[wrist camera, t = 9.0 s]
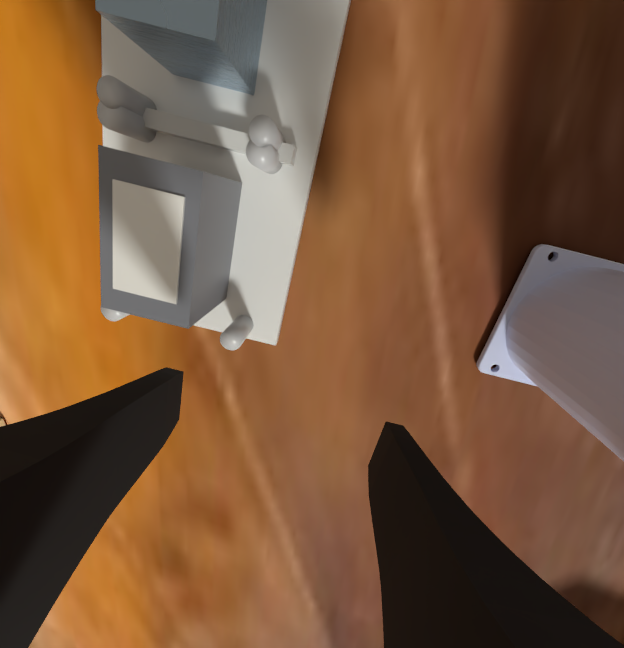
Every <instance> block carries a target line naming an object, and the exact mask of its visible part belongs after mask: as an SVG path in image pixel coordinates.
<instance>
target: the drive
mask: <svg viewBox="0 0 624 648" xmlns="http://www.w3.org/2000/svg"><path fill="white" fill-rule="evenodd" d="M95 4H96V11H97V12H98V13H100V14H101V15H102V16H103V17H104V18H106V19H107V20H108V21H109V22H110V23H112V24H113V25H114V26H115V27H116V28H118V29H119V30H120V31H121V32H122V33H124V34H125V35H126V36H127V37H128V38H130V39H131V40H132V41H133V42H134V43H136V44H137V45H138V46H139V47H140V48H142V49H143V50H144V51H145V52H146V53H148V54H149V55H150V56H151V57H152V58H154V59H155V60H156V61H157V62H158V63H160V64H161V65H162V66H163V67H164V68H166V69H167V70H168V71H169V72H170V73H172V74H173V75H177V76H181V77H184V78H188V79H192V80H196V81H200V82H204V83H208V84H212V85H216V86H219V87H223V88H227V89H231V90H235V91H239V92H243V93H247V94H251V95H254V93H255V86H256V79H257V71H258V64H259V57H260V50H261V42H262V35H263V28H264V21H265V14H266V6H267V0H95Z"/></svg>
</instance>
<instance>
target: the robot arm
mask: <svg viewBox="0 0 624 648" xmlns="http://www.w3.org/2000/svg"><path fill="white" fill-rule="evenodd" d="M551 252H553V254H554V255H553V257H552V259H550V260H548V255H549V254H550V253H551ZM476 365H477V368H478V369H479V370H480V371H481V372H483V373H486V374H490V375H494V376H498V377H502V378H506V379H510V380H514V381H518V382H522V383H526V384H530V385H534V386H538V387H539V388H540V389H541V390H543V391H544V392H545V393H546V394H547V395H548V396H549V397H551V398H552V399H553V400H554V401H555V402H556V403H558V404H559V405H560V406H561V407H562V408H563V409H564V410H566V411H567V412H568V413H569V414H570V415H571V416H572V417H574V418H575V419H576V420H577V421H578V422H579V423H580V424H582V425H583V426H584V427H585V428H586V429H587V430H588V431H590V432H591V433H592V434H593V435H594V436H595V437H596V438H598V439H599V440H600V441H601V442H602V443H603V444H605V445H606V446H607V447H608V448H609V449H610V450H611V451H613V452H614V453H615V454H616V455H617V456H618V457H619V458H621V459H622V460H623V461H624V264H621V263H617V262H614V261H610V260H606V259H602V258H598V257H594V256H590V255H586V254H582V253H578V252H574V251H570V250H566V249H562V248H558V247H554V246H551V245H546V244H540V245H537V246H536V247H534V248H533V249H532V251H531V253H530V255H529V257H528V259H527V261H526V263H525V265H524V267H523V269H522V271H521V273H520V275H519V277H518V279H517V281H516V283H515V285H514V287H513V289H512V292H511V294H510V296H509V298H508V300H507V302H506V304H505V306H504V308H503V310H502V312H501V314H500V316H499V318H498V320H497V322H496V324H495V326H494V328H493V330H492V332H491V334H490V336H489V339H488V341H487V343H486V345H485V347H484V349H483V351H482V353H481V355H480V357H479V359H478V361H477V364H476ZM493 365H496V367H495V368H494V369H491V367H492V366H493ZM182 382H183V371H179V370H175V369H171V368H163V369H161V370H158V371H156V372H153V373H151V374H149V375H146V376H144V377H141V378H139V379H137V380H135V381H132V382H130V383H127V384H125V385H123V386H120V387H118V388H115V389H113V390H111V391H108V392H106V393H103V394H100V395H98V396H95V397H92V398H90V399H87V400H84V401H82V402H79V403H76V404H74V405H71V406H68V407H65V408H62V409H60V410H56V411H53V412H50V413H47V414H44V415H41V416H37V417H34V418H31V419H27V420H24V421H20V422H17V423H13V424H9V425H5V426H1V427H0V648H28V647H29V645H30V644H31V642H32V640H33V638H34V637H35V635H36V633H37V632H38V630H39V628H40V627H41V625H42V623H43V622H44V620H45V618H46V617H47V615H48V613H49V612H50V610H51V608H52V606H53V605H54V603H55V601H56V600H57V598H58V596H59V595H60V593H61V592H62V590H63V588H64V587H65V585H66V583H67V582H68V580H69V579H70V577H71V575H72V574H73V572H74V571H75V569H76V567H77V566H78V564H79V562H80V561H81V559H82V558H83V556H84V554H85V553H86V551H87V550H88V548H89V547H90V545H91V544H92V542H93V541H94V539H95V537H96V536H97V534H98V533H99V531H100V530H101V528H102V527H103V525H104V523H105V522H106V521H107V519H108V518H109V516H110V515H111V514H112V512H113V511H114V509H115V508H116V507H117V505H118V504H119V503H120V501H121V500H122V499H123V498H124V496H125V495H126V494H127V492H128V491H129V490H130V488H131V487H132V486H133V485H134V483H135V482H136V481H137V479H138V478H139V477H140V476H141V474H142V473H143V472H144V470H145V469H146V468H147V467H148V465H149V464H150V463H151V461H152V460H153V459H154V457H155V456H156V455H157V453H158V452H159V451H160V449H161V448H162V447H163V445H164V444H165V442H166V441H167V439H168V437H169V436H170V434H171V432H172V431H173V429H174V427H175V425H176V424H177V422H178V420H179V414H180V404H181V393H182ZM368 482H369V500H370V507H371V515H372V522H373V529H374V536H375V543H376V550H377V557H378V564H379V572H380V581H381V594H382V612H383V631H384V648H624V645H622V644H621V643H620V642H618V641H617V640H616V639H614V638H613V637H612V636H610V635H609V634H608V633H606V632H605V631H604V630H602V629H601V628H600V627H599V626H597V625H596V624H595V623H594V622H592V621H591V620H590V619H589V618H588V617H586V616H585V615H584V614H583V613H582V612H580V611H579V610H578V609H577V608H575V607H574V606H573V605H572V604H571V603H569V602H568V601H567V600H566V599H565V598H563V597H562V596H561V595H560V594H559V593H557V592H556V591H555V590H554V589H553V588H552V587H550V586H549V585H548V584H547V583H546V582H545V581H544V580H542V579H541V578H540V577H539V576H538V575H537V574H536V573H535V572H534V571H532V570H531V569H530V568H529V567H528V566H527V565H526V564H525V563H524V562H523V561H522V560H520V559H519V558H518V557H517V556H516V555H515V554H514V553H513V552H512V551H511V550H510V549H509V548H508V547H507V546H506V545H505V544H503V543H502V542H501V541H500V540H499V539H498V538H497V537H496V536H495V534H494V533H493V532H492V531H491V530H490V529H489V528H488V527H487V526H486V525H485V524H484V523H483V522H482V521H481V520H480V519H479V518H478V517H477V516H476V515H475V514H474V513H473V512H472V510H471V509H470V508H469V507H468V506H467V505H466V504H465V503H464V501H463V500H462V499H461V498H460V497H459V496H458V495H457V493H456V492H455V491H454V490H453V489H452V488H451V486H450V485H449V484H448V483H447V481H446V480H445V479H444V478H443V477H442V475H441V474H440V473H439V472H438V470H437V469H436V468H435V466H434V465H433V464H432V463H431V461H430V460H429V459H428V457H427V456H426V455H425V453H424V452H423V451H422V450H421V448H420V447H419V446H418V444H417V443H416V442H415V440H414V439H413V438H412V436H411V435H410V434H409V432H408V431H407V430H406V429H405V428H404V426H402V425H398V424H394V423H390V422H386V423H385V425H384V428H383V430H382V433H381V435H380V438H379V440H378V443H377V445H376V448H375V450H374V453H373V455H372V458H371V460H370V463H369V465H368Z"/></svg>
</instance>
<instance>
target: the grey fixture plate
mask: <svg viewBox="0 0 624 648" xmlns="http://www.w3.org/2000/svg"><path fill="white" fill-rule="evenodd" d="M350 3H351V0H267V6H266V14H265V21H264V28H263V35H262V42H261V50H260V57H259V64H258V71H257V79H256V86H255V93H254V95H251V94H247V93H243V92H239V91H235V90H231V89H227V88H223V87H219V86H216V85H212V84H208V83H204V82H200V81H196V80H192V79H188V78H184V77H181V76H177V75H173V74H172V73H170V72H169V71H168V70H167V69H166V68H164V67H163V66H162V65H161V64H160V63H158V62H157V61H156V60H155V59H154V58H152V57H151V56H150V55H149V54H148V53H146V52H145V51H144V50H143V49H142V48H140V47H139V46H138V45H137V44H136V43H134V42H133V41H132V40H131V39H130V38H128V37H127V36H126V35H125V34H124V33H122V32H121V31H120V30H119V29H118V28H116V27H115V26H114V25H113V24H112V23H110V22H109V21H108V20H107V19H106V18H104V17H103V16H102V15H101V37H102V77H101V78H100V79H99V81H98V83H97V94H98V97H99V99H100V102H99V104H98V107H97V114H98V118H99V120H100V122H101V123H102V125H103V146H101V145H98V152H99V209H100V265H101V312H102V314H103V315H104V317H105V318H107V319H108V320H111V321H118V320H120V319H122V318H124V317H126V316H128V315H130V314H131V315H135V316H139V317H143V318H147V319H151V320H156V321H160V322H164V323H168V324H172V325H176V326H180V327H184V328H188V329H189V328H190V327H191V326H192V325H195V326H199V327H203V328H207V329H211V330H215V331H219V332H223V333H222V334H221V336H220V342H221V344H222V346H223V347H224V348H226V349H228V350H236V349H238V348H239V347H240V346H241V345H242V343H243V342H244V340H245V339H246V338H247V339H251V340H255V341H259V342H263V343H267V344H271V345H275V346H276V344H277V342H278V339H279V334H280V329H281V325H282V320H283V315H284V311H285V306H286V301H287V297H288V292H289V287H290V283H291V278H292V273H293V269H294V264H295V259H296V255H297V250H298V245H299V241H300V236H301V231H302V227H303V222H304V217H305V213H306V208H307V203H308V199H309V194H310V189H311V185H312V180H313V175H314V171H315V166H316V161H317V157H318V152H319V147H320V143H321V138H322V133H323V129H324V124H325V119H326V115H327V110H328V105H329V101H330V96H331V91H332V87H333V82H334V77H335V73H336V68H337V63H338V59H339V54H340V49H341V45H342V40H343V35H344V31H345V26H346V21H347V17H348V12H349V7H350Z"/></svg>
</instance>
